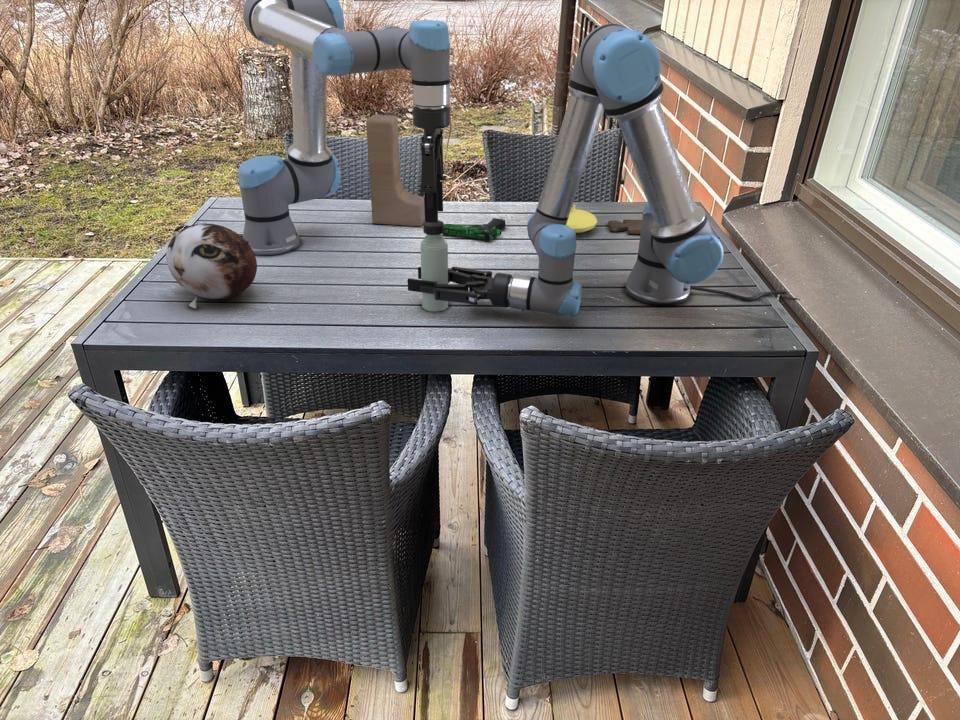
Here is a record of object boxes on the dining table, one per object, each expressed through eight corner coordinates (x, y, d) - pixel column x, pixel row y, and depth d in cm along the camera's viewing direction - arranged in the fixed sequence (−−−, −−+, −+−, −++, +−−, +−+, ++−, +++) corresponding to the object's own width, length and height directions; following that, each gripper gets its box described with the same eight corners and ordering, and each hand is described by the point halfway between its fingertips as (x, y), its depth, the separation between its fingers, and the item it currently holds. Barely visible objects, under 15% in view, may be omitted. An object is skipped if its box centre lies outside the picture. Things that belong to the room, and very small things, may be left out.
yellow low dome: (559, 216, 220) (561, 193, 217) (605, 227, 212) (608, 204, 209) (532, 230, 209) (533, 207, 206) (580, 242, 201) (582, 218, 198)
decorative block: (421, 227, 210) (418, 122, 195) (372, 224, 212) (365, 119, 197) (426, 218, 217) (424, 116, 201) (378, 215, 218) (372, 114, 203)
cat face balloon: (130, 285, 161) (164, 203, 163) (192, 308, 177) (221, 233, 178) (195, 307, 151) (229, 220, 152) (254, 330, 166) (285, 250, 168)
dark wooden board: (699, 237, 207) (691, 225, 216) (700, 231, 206) (692, 220, 215) (610, 234, 207) (606, 222, 216) (611, 228, 207) (607, 217, 215)
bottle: (446, 312, 164) (445, 230, 154) (420, 311, 164) (417, 229, 154) (449, 300, 169) (448, 220, 159) (423, 299, 169) (421, 219, 159)
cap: (442, 235, 155) (442, 227, 154) (422, 234, 155) (422, 226, 154) (444, 228, 159) (444, 220, 158) (424, 227, 159) (424, 219, 158)
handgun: (511, 219, 210) (493, 234, 198) (511, 228, 211) (492, 244, 199) (461, 212, 215) (440, 226, 203) (461, 221, 217) (440, 236, 204)
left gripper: (421, 96, 152) (424, 201, 164) (403, 115, 135) (408, 231, 147) (456, 97, 152) (457, 202, 163) (442, 116, 135) (444, 232, 146)
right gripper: (499, 325, 153) (399, 311, 158) (519, 289, 169) (427, 277, 174) (501, 293, 149) (397, 280, 155) (521, 259, 165) (426, 248, 170)
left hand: (434, 216), depth 155 cm, fingers open, 7 cm apart
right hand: (413, 278), depth 164 cm, fingers closed on bottle, 6 cm apart
